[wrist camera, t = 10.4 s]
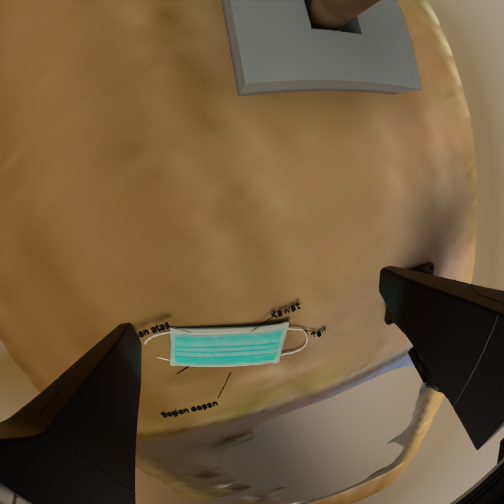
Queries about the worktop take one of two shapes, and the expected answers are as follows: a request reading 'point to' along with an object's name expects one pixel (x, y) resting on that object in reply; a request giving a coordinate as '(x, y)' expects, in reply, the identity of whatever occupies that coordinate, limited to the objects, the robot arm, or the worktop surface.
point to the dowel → (335, 12)
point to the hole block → (318, 49)
